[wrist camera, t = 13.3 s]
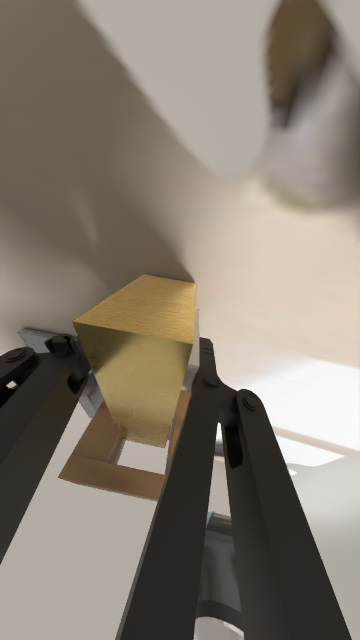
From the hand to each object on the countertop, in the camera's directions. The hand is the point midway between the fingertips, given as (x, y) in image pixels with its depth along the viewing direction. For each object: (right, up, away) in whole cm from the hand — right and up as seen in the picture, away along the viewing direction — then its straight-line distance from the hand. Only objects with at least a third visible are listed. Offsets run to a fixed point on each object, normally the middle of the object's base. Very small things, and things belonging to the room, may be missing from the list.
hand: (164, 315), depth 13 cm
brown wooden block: (-2, -13, +10) cm, 16 cm away
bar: (-1, -3, +3) cm, 5 cm away
